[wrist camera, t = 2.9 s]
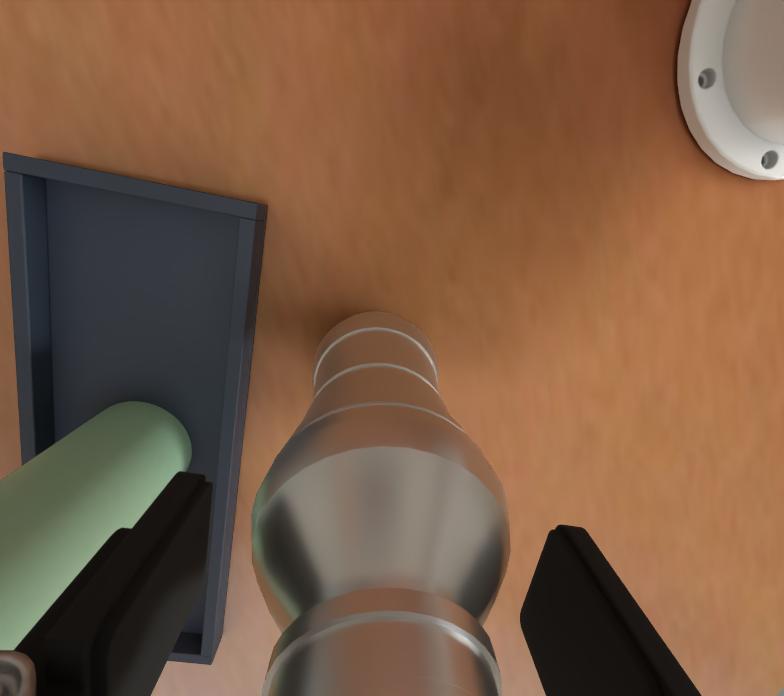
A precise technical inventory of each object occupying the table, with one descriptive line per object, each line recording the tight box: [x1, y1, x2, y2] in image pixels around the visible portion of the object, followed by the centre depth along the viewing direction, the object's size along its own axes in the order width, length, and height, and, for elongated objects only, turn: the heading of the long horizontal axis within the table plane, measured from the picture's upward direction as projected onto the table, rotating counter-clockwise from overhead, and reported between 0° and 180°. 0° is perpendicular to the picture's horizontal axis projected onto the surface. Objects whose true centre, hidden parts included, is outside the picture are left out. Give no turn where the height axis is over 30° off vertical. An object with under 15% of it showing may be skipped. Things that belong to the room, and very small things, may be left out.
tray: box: [3, 152, 268, 665], centre depth 25 cm, size 31×12×2 cm, turn 169°
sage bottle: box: [0, 401, 192, 650], centre depth 16 cm, size 6×6×18 cm
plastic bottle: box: [251, 311, 510, 696], centre depth 15 cm, size 6×7×20 cm
